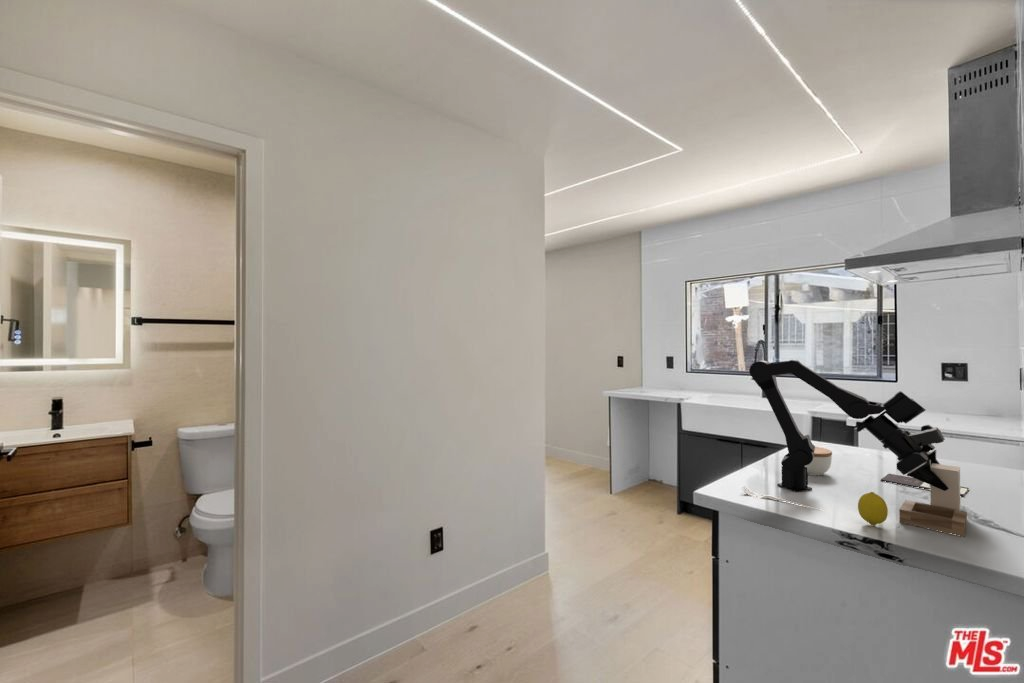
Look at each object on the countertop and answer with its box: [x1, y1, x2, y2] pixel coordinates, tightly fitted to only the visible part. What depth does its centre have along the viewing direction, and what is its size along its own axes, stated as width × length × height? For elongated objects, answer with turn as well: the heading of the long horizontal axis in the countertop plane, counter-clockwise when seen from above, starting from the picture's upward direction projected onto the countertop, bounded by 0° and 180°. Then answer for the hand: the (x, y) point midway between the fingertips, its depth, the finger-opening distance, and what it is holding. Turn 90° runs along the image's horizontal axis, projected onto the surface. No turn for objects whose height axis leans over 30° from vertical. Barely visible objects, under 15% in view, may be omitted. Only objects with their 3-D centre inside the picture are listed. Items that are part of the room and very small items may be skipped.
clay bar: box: [930, 463, 961, 511], centre depth 112 cm, size 5×5×12 cm
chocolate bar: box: [880, 473, 970, 497], centre depth 133 cm, size 9×1×18 cm
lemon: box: [857, 491, 889, 527], centre depth 106 cm, size 6×6×8 cm
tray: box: [899, 499, 968, 538], centre depth 107 cm, size 9×11×3 cm
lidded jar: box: [805, 446, 833, 477], centre depth 147 cm, size 11×11×9 cm
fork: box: [740, 486, 821, 511], centre depth 123 cm, size 3×20×2 cm, turn 44°
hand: (948, 485), depth 111 cm, fingers open, 9 cm apart
